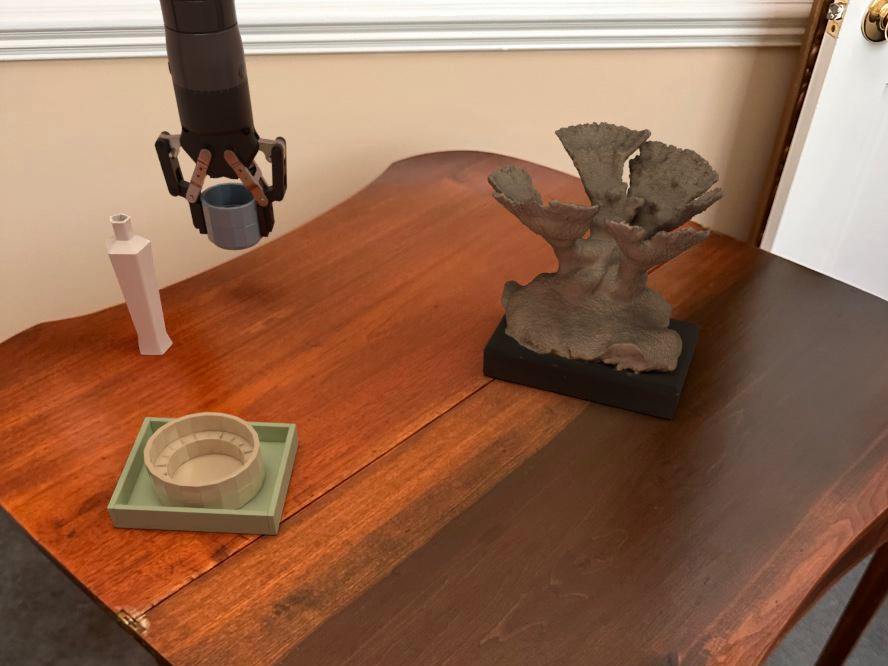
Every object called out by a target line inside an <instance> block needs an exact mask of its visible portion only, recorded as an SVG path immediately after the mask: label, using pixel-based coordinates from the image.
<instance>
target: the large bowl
mask: <svg viewBox="0 0 888 666" xmlns="http://www.w3.org/2000/svg"><path fill="white" fill-rule="evenodd" d="M176 418H177V419H174V420H172V421H170V422H168V423H167V424H165V425H163V426H162V427H160V428H159V429H157V431H156V432H155V433H154V434H153V435H152V436H151V437H150V438H149V440H148V441H147V444H146V446H145V449H144V463H145V466H146V469H147V472H148V475H149V478H150V481H151V484H152V487H153V491H154V494H155V495H156V497H157V498H158V500H159V501H160V503H161V504H162V505H164V506H165V507H184V508H206V509H227V510H236V509H238V508H241V507H242V506H243V505H245V504H246V503H248V502H249V501H250V500H252V499H253V498H254V497H255V496H256V495H257V493H258V492H259V491H260V489H261V488H262V486H263V482H264V478H265V469H264V464H263V458H262V453H261V448H260V443H259V438H258V434H257V432H256V431H255V430H254V429H253V427H252V426H251V425H250V424H249V423H247V422H248V421H246V420H244V419H242V418H240V416H236V415H233V414H229V413H225V412H217V411H216V412H215V411H202V412H196V413H190V414H186V415H183V416H180V417H176Z"/></svg>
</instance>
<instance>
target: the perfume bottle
mask: <svg viewBox="0 0 888 666" xmlns="http://www.w3.org/2000/svg"><path fill="white" fill-rule="evenodd" d="M131 218H132V216H131V215H129V214H126V213H124V212H119V213H116V214H112V215H110V216H108V220H109V223H110V224H111V226H112V229H113V234H114V235H112V236H111V237H109V238H107V239H106V240H105V246H106V251H107V255H108V257H109V260H110V262H111V266H112V269H113V271H114V275H115V277H116V278H117V282H118V285H119V288H120V290H121V293H122V295H123V299H124V301H125V304H126V307H127V310H128V312H129V315H130V317H131V320H132V323H133V326H134V329H135V331H136V334H137V341H138V342H137V344H138V348H139V354H140V355H142V356H163V355H164V354H165V353H166V352H167V351H168V350H169V349H170V348H171V347H172V346H173V344H174V343H173V341H172V339H171V337H170V336H169V334H168V333H167V330H166V324H165V317H164V312H163V307H162V301H161V294H160V291H159V290H160V289H159V283H158V278H157V273H156V267H155V261H154V255H153V249H152V243H151V240H150V239H148V238H146V237H143V236H141V235H139V234H136V233H134V230H133V226H132V222H131Z"/></svg>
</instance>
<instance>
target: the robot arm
mask: <svg viewBox="0 0 888 666" xmlns="http://www.w3.org/2000/svg"><path fill="white" fill-rule="evenodd" d="M159 6H160V10H161V11H160V12H161V16H162V21H163V26H164V36H165V49H166V55H167V68H168V71H169V74H170V76H171V81H172V87H173V91H174V96H175V103H176V107H177V112H178V113H177V114H178V118H179V122H180V127H181V132H180V134H179V133H177V134H171V133H170V132H168V131H167V130H163V131H161V133H160V134H159V135H158V137H157V138H156V140H155V142H154V148H155V152H156V156H157V158H158V161H159V165H160V168H161V172H162V174H163V178H164V181H165V184H166V187H167V191H168V193H169V195H170V196H172V197H175V198H176V197H181V198H184V199H185V200H186V201H187V203H188V205H189V211H190V215H191V220H192V225H193V227H194V228H195V230H198V231H199V234H200V235H207V231H206V226H205V221H204V216H203V211H202V205H201V200H200V196H201V194H202V190H203V187H204V184H205V182H206V178H207V176H209V179H220V178H221V179H222V178H226V179H230V180H240V183H243V185H244V186H245V188H246V189H247V190H250V192H251V193H252V195H253V196H254V198H255V199H256V201H257V202H258V205H257V211H258V218H259V225H260V232H261V237H262V238H269V236H270V233H273V229H274V227H275V223H276V221H275V212H274V205H273V204H274V202H282V201H283V200H284V198H285V195H286V192H287V190H288V167H287V166H288V163H287V161H288V159H287V140H286V138H284V137H283V136H277V137H276V138H275V139H269V138H262V137H260V135H259V133H258V131H257V130H256V127H255V123H254V114H253V107H252V106H253V105H252V100H251V92H250V85H249V78H248V70H247V69H248V68H247V63H246V62H247V61H246V55H245V49H244V48H245V47H244V43H243V39H242V35H241V32H240V28H239V27H240V26H239V22H238V15H237V7H236V0H159ZM181 148H182V150H183V151H184V152H185V153H186V154H187V156H188V157H189V158H190V159H191V160H192V161H193V163H194V164H195V166H194V170H193V172H192V175H191V178H190V181H187V180H185V178H184V175H183V171H182V167H181V165H180V161H179V158H178V156H179V155H180V152H181ZM259 152H262V153H263V155H264V158H265V160H266V162H267V163H268V164H269V163H270V164H271V185H270V184H268V182H267V180H266V179H265V177H264V176H263V172H262V169H261V168H260V167H259V166H260V165H258V163H257V161H256V157H257V155H258V153H259Z"/></svg>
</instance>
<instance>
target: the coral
mask: <svg viewBox="0 0 888 666" xmlns="http://www.w3.org/2000/svg"><path fill="white" fill-rule="evenodd" d="M554 135H556V137H557V138H558V140H559V141H560V143H561V145H562V146H563V149H564V151H565V152H566V153H567V155H568V156H569V158H570V160H571V161H572V164H573V167H574V168H575V169H576V171H577V174H578V176H579V178H580V181H581V183H582V185H583V189H584V193H585V194H586V196H587V198H588V200H589V202H590V206H587V205H582V204H577V203H573V202H570V203H568V202H564V201H563V202H561V200H559V199H555V198H553V199H549V200H548V203H547V204H548V205H549V206H546V205H545V206H544V202H543V200H542V194H541V192H539V191H538V190H537V189H536V188H535V187H534V185H533V180H532V179H533V178H532V176H531V175H530V174H529V173H528V170H527V169H526V168H525V167H523V168H521V166H520V165H507V166H501V167H500V168H499V169H497V170H494V171H492V172H491V173H490V174H488V175H487V183H488V184H489V185H490V187H492V189H493V190H494V191H493V192H492V194H491V197H492V198H493V199H494V200H496V201H497V202H498V203H499V204H501V206H502V207H503V208H505V209H506V210H507V211H508V212H509V213H510V214H512V215H514V217H515V218H517V220H519V222H520V223H521V224H522V225H524V226H525V227H527V228H528V230H530V231H531V232H533V233H534V234H535V235H537V236H538V235H539V236H541V238H543V240H545V242H546V243H548V244H549V246H550V247H551V248H552V250H553V253H554V256H555V257H556V258H557V262H558V267H557V271H556V272H541V273H538V275H536V276H535V277H534V278H533V279H532V280H531V281H529V282H528V283H526V284H525V285H523V284H520V283H519V282H517V281H516V280H513V279H512V280H509V281H505V282H504V284H503V289H502V293H501V298H500V303H501V306H502V307H503V308H504V310H505V312H504V314H503V316H502V317H501V319H500V321H499V322H498V324H497V325H496V328H495V329H494V331H493V333H492V334H491V336H490V337H489V339H488V341H487V342H486V344H485V347H484V348H483V359H482V361H483V363H482V374H483V375H484V376H487V377H491V378H496V379H499V380H504V381H508V382H512V383H516V384H521V385H524V386H528V387H533V388H536V389H537V388H538V389H540V390H545V391H548V392H554V393H557V394H561V395H566V396H570V397H573V398H574V397H575V398H579V399H582V400H587V401H589V402H590V401H591V402H595V403H598V404H599V403H600V404H603V405H607V406H611V407H615V408H620V409H622V410H623V409H624V410H627V411H632V412H637V413H640V414H645V415H648V416H654V417H657V418H662V419H667V420H670V421H672V420H673V418H674V415H675V412H676V409H677V406H678V403H679V400H680V397H681V394H682V391H683V387H684V385H685V381H686V378H687V375H688V372H689V369H690V367H691V363H692V361H693V357H694V353H695V350H696V346H697V343H698V338H699V335H700V332H701V331H700V330H701V326H700V325H699V324H697V323H696V322H695V323H694V322H689V321H684V320H680V319H675V318H671V315H672V310H673V306H672V304H670V303H669V302H667V300H666V299H665V298H664V297H663V295H662V294H661V292H659V291H657V290H656V289H653V288H652V287H649V286H647V281H648V279H649V272H648V271H649V270H650V269H652V268H654V267H656V266H658V265H659V266H660V265H661V264H665V263H666V262H668V261H670V260H673V259H675V258H677V257H678V256H679V255H681V254H682V253H683V252H686V251H687V250H689V249H691V248H692V247H694V246H696V245H699V244H701V243H702V242H704V241H705V240H707V239H708V238H709V237H710V235H711V230H702V229H700V230H696V229H694V227H692V226H688V227H683V226H684V225H685V224H686V223H688V222H689V221H691V220H693V218H694V217H696V216H698V215H700V214H702V213H703V212H706V211H707V210H708V209H709V208H710V207H712V206H713V205H714V204H715V203H716V202H718V201H720V200H722V198H723V197H724V196H725V191H724V190H723V188H722V187H717V186H716V187H715V188H713V189H711V188H712V186H714V185H715V184H717V182H719V180H720V178H719V177H720V175H719V172H718V171H717V170H716V169H713V166H712V165H711V164H710V161H708V160H706V159H705V157H702V156H701V155H700V154H698V153H697V152H696V150H693V149H690V148H684V149H683V148H682V147H677V146H676V145H673V144H669V145H668V144H667V143H664V142H663V141H660V140H650V137H651V136H652V132H651V130H650V129H647V128H644V129H643V130H642V129H641V130H637V129H630V128H629V127H627V126H624V125H616V124H615V123H612V124H611V123H608V122H606V121H605V122H603V121H601V122H600V123H599V124H598V122H596V121H592V123H589V122H587V123H584V124H581V123H578V124H576V125H573V124H572V125H569V126H567V127H566V126H565V127H560V128H559V129H556V130H555V131H554ZM648 139H649V140H648ZM637 151H639V154H636V155H635V157H634V158H630V157H631V156H632V155H634V153H635V152H637ZM628 159H629V160H628ZM627 160H628V171H629V175H628V178H629V184H628V182H627V181H624V180H623V175H624V167H625V163H626V162H627ZM680 227H682V228H681V229H679V228H680ZM675 230H676V231H675ZM588 231H589V236H588V237H587V238H583V237H584V236H585V235H586V233H587V232H588Z"/></svg>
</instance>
